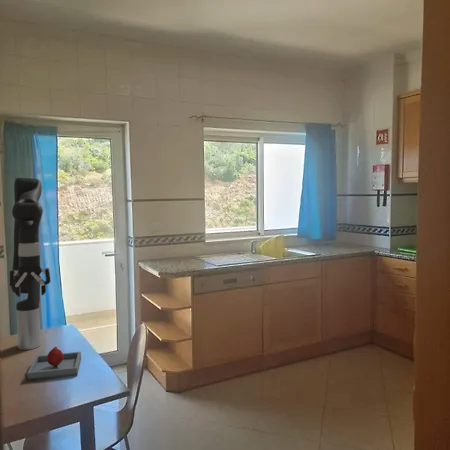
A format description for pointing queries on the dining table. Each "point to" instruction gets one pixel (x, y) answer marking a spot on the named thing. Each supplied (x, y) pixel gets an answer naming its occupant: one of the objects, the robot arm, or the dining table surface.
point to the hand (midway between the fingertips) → (31, 295)
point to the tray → (46, 371)
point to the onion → (55, 357)
